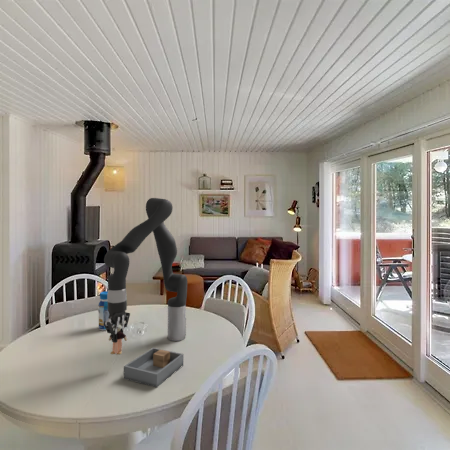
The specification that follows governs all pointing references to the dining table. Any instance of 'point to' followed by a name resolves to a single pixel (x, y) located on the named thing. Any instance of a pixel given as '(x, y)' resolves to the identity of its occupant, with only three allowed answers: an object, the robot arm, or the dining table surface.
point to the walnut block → (161, 358)
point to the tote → (151, 368)
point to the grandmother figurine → (118, 341)
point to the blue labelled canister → (103, 310)
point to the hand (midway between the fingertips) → (117, 340)
